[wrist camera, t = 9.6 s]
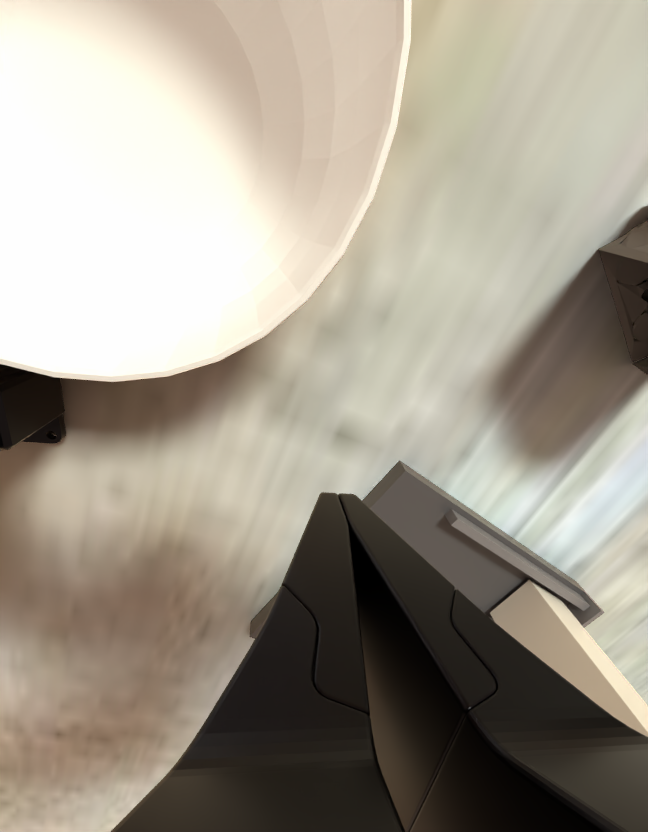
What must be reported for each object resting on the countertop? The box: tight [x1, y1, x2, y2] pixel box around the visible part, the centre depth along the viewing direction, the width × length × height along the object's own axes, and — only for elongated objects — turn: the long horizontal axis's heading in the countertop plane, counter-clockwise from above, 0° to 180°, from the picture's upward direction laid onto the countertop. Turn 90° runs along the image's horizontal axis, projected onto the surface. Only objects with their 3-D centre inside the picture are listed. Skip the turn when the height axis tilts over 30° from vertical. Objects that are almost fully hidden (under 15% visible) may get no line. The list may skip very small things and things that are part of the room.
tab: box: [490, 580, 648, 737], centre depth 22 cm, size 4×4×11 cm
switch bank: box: [250, 461, 604, 639], centre depth 26 cm, size 20×17×3 cm
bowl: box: [0, 0, 411, 382], centre depth 11 cm, size 18×18×7 cm
